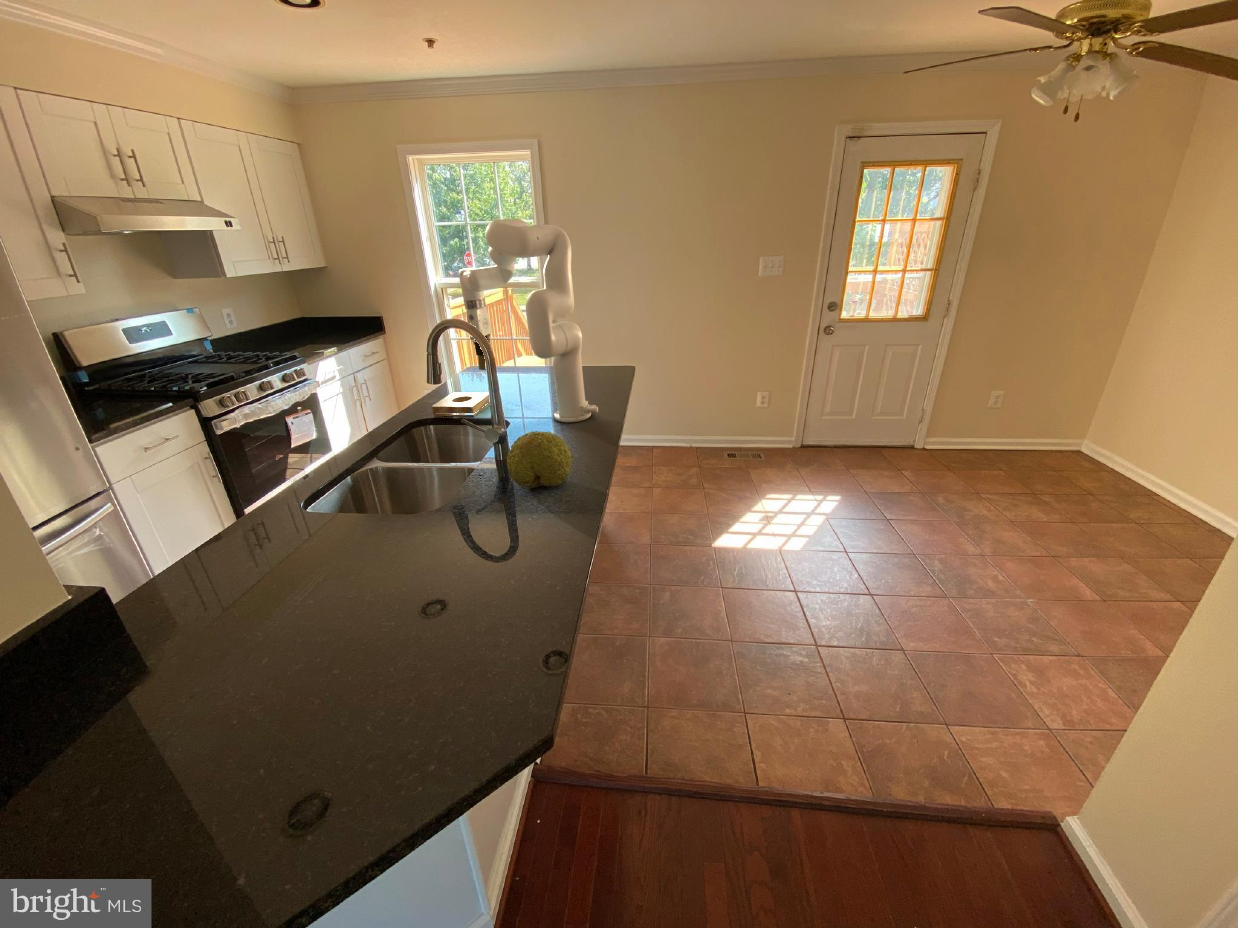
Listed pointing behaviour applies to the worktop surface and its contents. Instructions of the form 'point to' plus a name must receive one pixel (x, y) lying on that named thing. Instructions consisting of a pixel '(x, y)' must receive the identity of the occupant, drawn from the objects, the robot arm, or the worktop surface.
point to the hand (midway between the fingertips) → (484, 353)
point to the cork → (481, 362)
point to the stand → (462, 403)
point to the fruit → (539, 460)
